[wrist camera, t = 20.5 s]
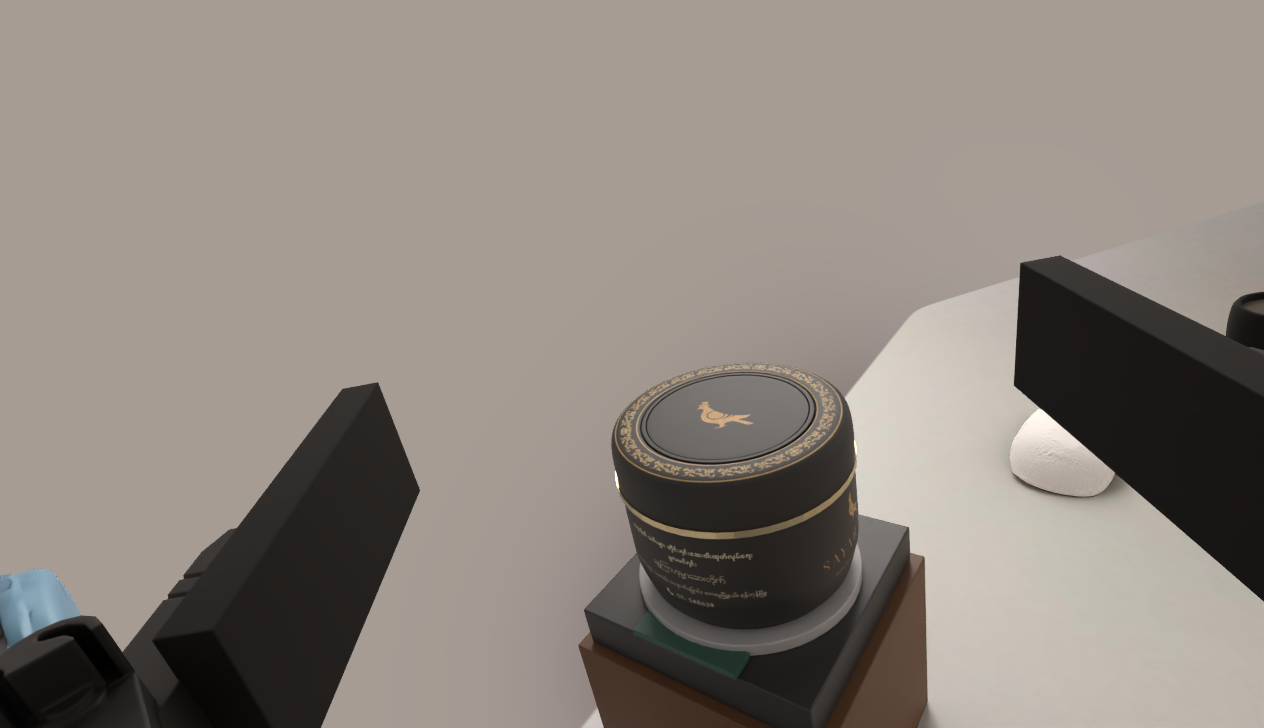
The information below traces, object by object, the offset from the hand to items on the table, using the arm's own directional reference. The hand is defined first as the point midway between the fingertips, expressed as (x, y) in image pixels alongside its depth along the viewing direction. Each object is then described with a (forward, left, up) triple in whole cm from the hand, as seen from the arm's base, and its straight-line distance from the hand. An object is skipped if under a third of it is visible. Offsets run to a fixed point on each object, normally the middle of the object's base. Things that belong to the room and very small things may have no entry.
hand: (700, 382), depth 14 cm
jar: (+6, +10, -16) cm, 20 cm away
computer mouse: (+39, +18, -28) cm, 51 cm away
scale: (+6, +10, -28) cm, 31 cm away
